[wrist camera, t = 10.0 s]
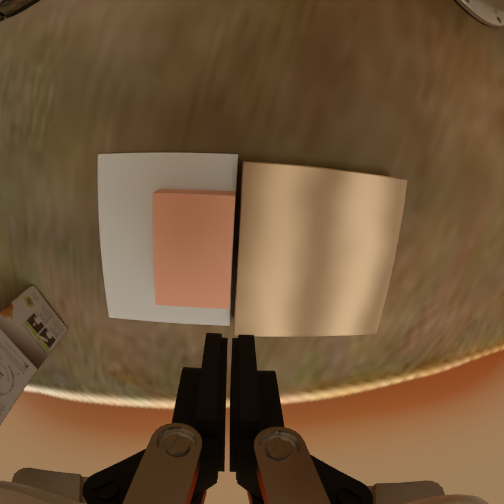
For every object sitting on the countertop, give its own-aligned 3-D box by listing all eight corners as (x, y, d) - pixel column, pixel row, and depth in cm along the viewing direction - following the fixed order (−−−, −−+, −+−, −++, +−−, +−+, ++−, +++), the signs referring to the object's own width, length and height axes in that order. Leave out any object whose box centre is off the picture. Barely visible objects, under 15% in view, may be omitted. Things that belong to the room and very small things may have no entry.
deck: (390, 176, 25) (407, 180, 22) (364, 317, 30) (376, 333, 27) (242, 160, 24) (244, 162, 21) (234, 317, 29) (234, 335, 26)
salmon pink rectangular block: (235, 191, 24) (235, 196, 22) (229, 295, 27) (229, 308, 25) (159, 188, 24) (152, 192, 22) (161, 292, 27) (155, 304, 24)
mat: (238, 154, 24) (238, 154, 23) (229, 322, 29) (229, 325, 28) (100, 154, 23) (97, 154, 23) (111, 314, 28) (109, 317, 27)
